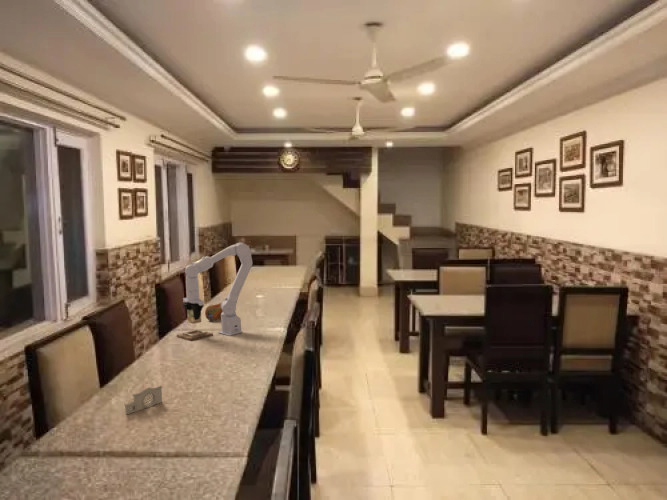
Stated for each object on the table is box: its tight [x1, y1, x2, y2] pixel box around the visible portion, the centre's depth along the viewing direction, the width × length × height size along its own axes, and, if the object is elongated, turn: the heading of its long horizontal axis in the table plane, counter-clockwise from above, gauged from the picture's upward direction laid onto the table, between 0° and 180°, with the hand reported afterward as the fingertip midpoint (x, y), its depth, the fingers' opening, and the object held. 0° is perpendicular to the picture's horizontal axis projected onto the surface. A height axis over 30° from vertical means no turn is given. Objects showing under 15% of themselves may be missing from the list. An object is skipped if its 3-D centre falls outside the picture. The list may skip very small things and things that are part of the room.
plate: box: [176, 329, 214, 342], centre depth 235 cm, size 12×12×2 cm
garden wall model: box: [123, 385, 163, 415], centre depth 151 cm, size 12×2×6 cm, turn 141°
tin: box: [204, 302, 223, 322], centre depth 270 cm, size 15×3×8 cm, turn 143°
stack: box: [186, 309, 202, 325], centre depth 234 cm, size 4×4×6 cm
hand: (194, 318), depth 234 cm, fingers closed on stack, 5 cm apart
